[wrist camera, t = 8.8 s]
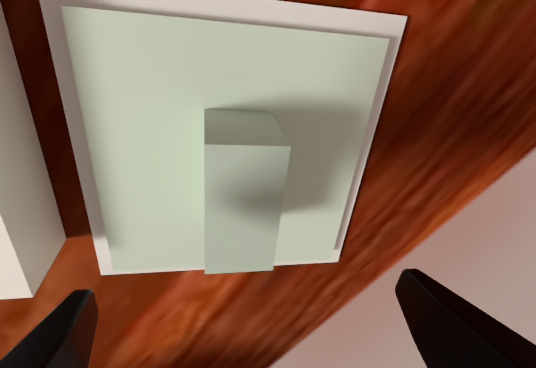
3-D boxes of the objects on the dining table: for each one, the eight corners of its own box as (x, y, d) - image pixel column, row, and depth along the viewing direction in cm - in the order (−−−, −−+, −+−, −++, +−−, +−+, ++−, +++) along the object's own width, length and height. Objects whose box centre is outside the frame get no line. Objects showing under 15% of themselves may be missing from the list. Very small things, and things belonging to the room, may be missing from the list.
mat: (335, 257, 22) (337, 261, 21) (102, 270, 19) (101, 275, 18) (402, 15, 14) (407, 16, 14) (37, -29, 11) (32, -30, 11)
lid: (326, 251, 21) (356, 312, 17) (116, 261, 18) (91, 337, 14) (380, 37, 14) (451, 51, 10) (68, 4, 12) (-3, 8, 8)
